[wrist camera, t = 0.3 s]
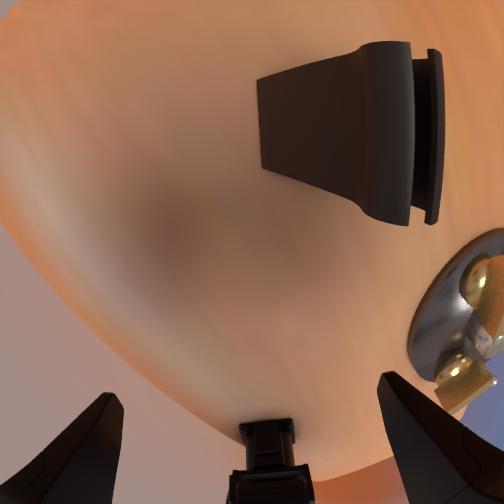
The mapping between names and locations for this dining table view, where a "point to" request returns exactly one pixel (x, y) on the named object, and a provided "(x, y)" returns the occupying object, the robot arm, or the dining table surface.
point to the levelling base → (462, 307)
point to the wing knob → (461, 380)
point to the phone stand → (361, 128)
